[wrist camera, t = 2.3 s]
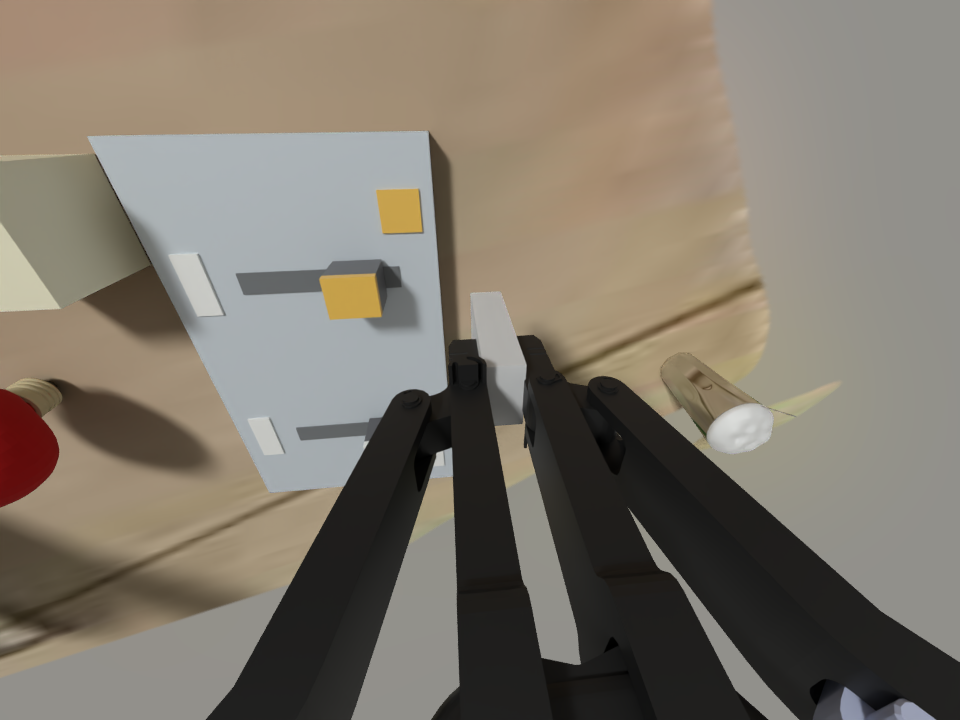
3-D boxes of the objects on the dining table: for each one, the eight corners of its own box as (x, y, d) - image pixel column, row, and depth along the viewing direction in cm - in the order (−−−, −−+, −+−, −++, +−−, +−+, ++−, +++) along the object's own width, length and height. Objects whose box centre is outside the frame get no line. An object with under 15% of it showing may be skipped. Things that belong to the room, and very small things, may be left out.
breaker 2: (374, 440, 31) (369, 469, 28) (369, 418, 30) (363, 446, 27) (410, 437, 31) (407, 465, 29) (406, 415, 30) (403, 443, 27)
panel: (277, 475, 35) (268, 494, 33) (116, 135, 20) (84, 136, 18) (453, 460, 36) (454, 477, 35) (428, 130, 21) (428, 131, 19)
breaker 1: (341, 298, 24) (329, 319, 21) (332, 261, 22) (318, 278, 20) (387, 296, 24) (381, 317, 22) (381, 259, 23) (374, 276, 20)
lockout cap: (37, 269, 23) (-94, 316, 17) (-42, 156, 20) (-236, 168, 14) (151, 264, 24) (61, 308, 18) (94, 153, 20) (-40, 164, 14)
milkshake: (719, 345, 32) (819, 423, 24) (681, 391, 35) (759, 476, 26) (679, 331, 31) (769, 408, 22) (643, 380, 33) (712, 465, 25)
